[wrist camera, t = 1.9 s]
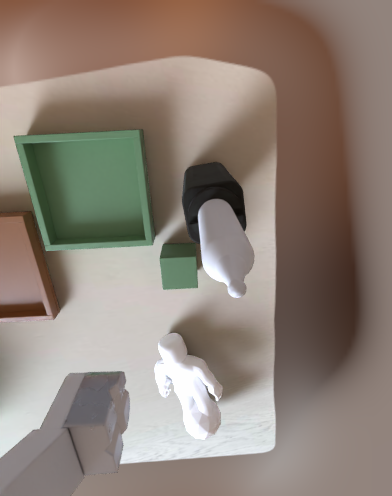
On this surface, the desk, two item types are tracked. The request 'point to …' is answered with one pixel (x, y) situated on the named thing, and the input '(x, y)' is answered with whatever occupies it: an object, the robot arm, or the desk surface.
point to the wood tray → (24, 272)
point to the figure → (189, 386)
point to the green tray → (89, 188)
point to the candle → (218, 224)
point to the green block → (179, 266)
